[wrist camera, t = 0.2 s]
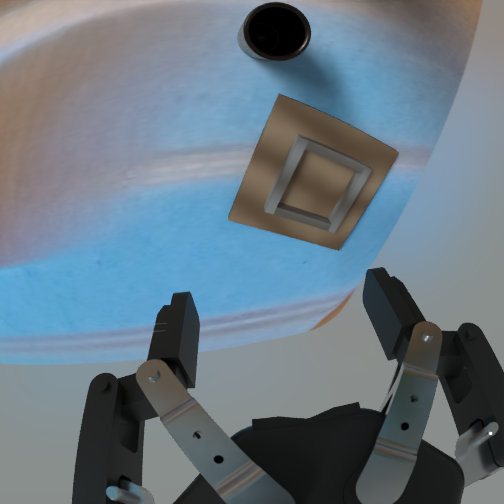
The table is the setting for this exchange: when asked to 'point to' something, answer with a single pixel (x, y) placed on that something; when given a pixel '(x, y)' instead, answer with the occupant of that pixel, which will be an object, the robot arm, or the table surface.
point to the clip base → (310, 175)
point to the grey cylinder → (274, 32)
